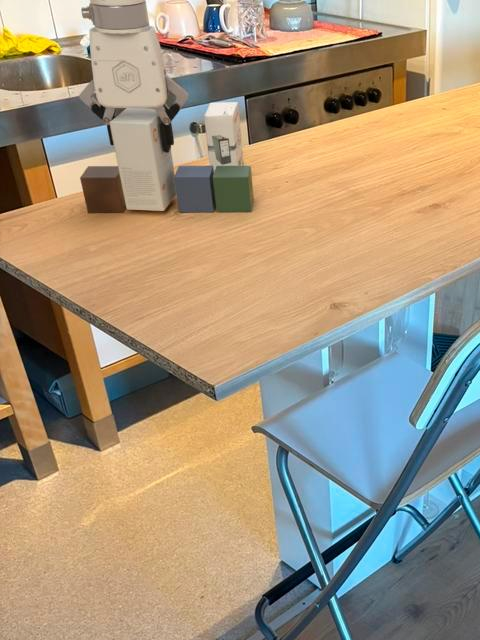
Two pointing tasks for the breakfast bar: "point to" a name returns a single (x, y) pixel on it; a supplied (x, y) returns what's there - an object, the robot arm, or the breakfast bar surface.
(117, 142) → the small box
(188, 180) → the block
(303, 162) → the breakfast bar surface
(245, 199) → the block
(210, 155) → the ink box
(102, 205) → the block
